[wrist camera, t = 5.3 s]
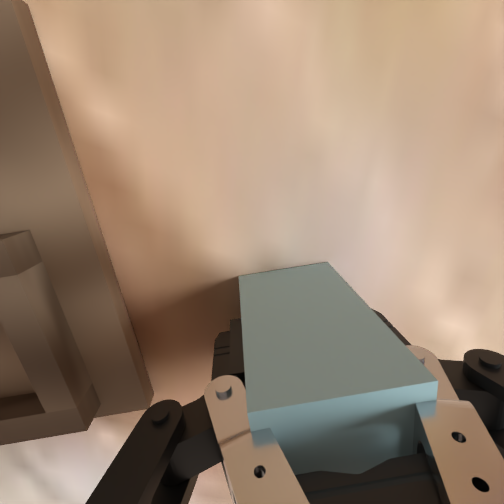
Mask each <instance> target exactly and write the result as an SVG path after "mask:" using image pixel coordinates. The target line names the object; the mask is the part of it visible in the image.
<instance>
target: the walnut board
mask: <svg viewBox="0 0 504 504" xmlns="http://www.w3.org/2000/svg"><path fill="white" fill-rule="evenodd" d="M153 395H154V392H153V389H152V386H151V383H150V380H149V377H148V374H147V371H146V368H145V365H144V361H143V358H142V355H141V352H140V349H139V346H138V343H137V340H136V337H135V334H134V331H133V328H132V324H131V321H130V318H129V315H128V312H127V309H126V306H125V303H124V300H123V297H122V294H121V291H120V287H119V284H118V281H117V278H116V275H115V272H114V269H113V266H112V263H111V260H110V257H109V254H108V250H107V247H106V244H105V241H104V238H103V235H102V232H101V229H100V226H99V223H98V220H97V217H96V213H95V210H94V207H93V204H92V201H91V198H90V195H89V192H88V189H87V186H86V183H85V180H84V176H83V173H82V170H81V167H80V164H79V161H78V158H77V155H76V152H75V149H74V146H73V143H72V139H71V136H70V133H69V130H68V127H67V124H66V121H65V118H64V115H63V112H62V109H61V106H60V102H59V99H58V96H57V93H56V90H55V87H54V84H53V81H52V78H51V75H50V72H49V69H48V65H47V62H46V59H45V56H44V53H43V50H42V47H41V44H40V41H39V38H38V35H37V32H36V28H35V25H34V22H33V19H32V16H31V13H30V10H29V7H28V4H26V3H25V2H24V1H22V0H0V445H5V444H11V443H17V442H23V441H28V440H34V439H40V438H46V437H52V436H58V435H64V434H70V433H76V432H82V431H87V430H88V428H89V426H90V424H91V422H92V420H93V418H96V417H102V416H108V415H114V414H120V413H126V412H132V411H138V410H143V409H149V407H150V404H151V401H152V398H153Z"/></svg>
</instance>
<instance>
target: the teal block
mask: <svg viewBox="0 0 504 504" xmlns="http://www.w3.org/2000/svg"><path fill="white" fill-rule="evenodd" d="M239 291H240V307H241V323H242V339H243V355H244V370H245V386H246V402H247V415H248V420H249V425H250V430H251V432H252V431H256V430H261V429H266V428H270V429H271V431H272V433H273V435H274V436H275V438H276V440H277V442H278V444H279V446H280V448H281V450H282V452H283V454H284V456H285V458H286V459H287V461H288V463H289V465H290V467H291V469H292V471H293V473H294V475H298V474H304V473H309V472H315V471H330V472H340V473H349V474H361V473H363V472H365V471H367V470H369V469H371V468H373V467H375V466H377V465H379V464H380V463H382V462H384V461H386V460H388V459H390V458H396V457H401V456H407V455H412V452H413V435H414V417H415V403H418V402H425V401H435V400H437V389H438V380H437V379H436V378H435V377H434V376H433V375H432V374H431V372H430V371H429V370H428V369H427V368H426V367H425V366H424V365H423V364H422V363H421V362H420V361H419V360H418V359H417V357H416V356H415V355H414V354H413V353H412V352H411V351H410V350H409V349H408V348H407V347H406V346H405V345H404V343H403V342H402V341H401V340H400V339H399V338H398V337H397V336H396V335H395V334H394V333H393V332H392V331H391V330H390V328H389V327H388V326H387V325H386V324H385V323H384V322H383V321H382V320H381V319H380V318H379V317H378V316H377V315H376V313H375V312H374V311H373V310H372V309H371V308H370V307H369V306H368V305H367V304H366V303H365V302H364V301H363V300H362V298H361V297H360V296H359V295H358V294H357V293H356V292H355V291H354V290H353V289H352V288H351V287H350V286H349V284H348V283H347V282H346V281H345V280H344V279H343V278H342V277H341V276H340V275H339V274H338V273H337V272H336V271H335V269H334V268H333V267H332V266H331V265H330V264H329V263H328V262H324V263H318V264H312V265H305V266H299V267H293V268H286V269H280V270H274V271H267V272H261V273H255V274H248V275H242V276H239Z"/></svg>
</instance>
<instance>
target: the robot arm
mask: <svg viewBox="0 0 504 504" xmlns="http://www.w3.org/2000/svg"><path fill="white" fill-rule="evenodd" d="M372 310H373V309H372ZM373 311H374V312H375V313H376V315H377V316H378V317H379V318H380V319H381V320H382V321H383V322H384V323H385V324H386V325H387V326H388V327H389V328H390V330H391V331H392V332H393V333H394V334H395V335H396V336H397V337H398V338H399V339H400V340H401V341H402V342H403V343H404V345H405V346H406V347H407V348H408V349H409V350H410V351H411V352H412V353H413V354H414V355H415V356H416V357H417V359H418V360H419V361H420V362H421V363H422V364H423V365H424V366H425V367H426V368H427V369H428V370H429V371H430V372H431V374H432V375H433V376H434V377H435V378H436V379H437V380H438V389H437V400H435V401H425V402H418V403H415V417H414V435H413V452H412V455H407V456H401V457H396V458H390V459H388V460H386V461H384V462H382V463H380V464H379V465H377V466H375V467H373V468H371V469H369V470H367V471H365V472H363V473H361V474H349V473H340V472H330V471H315V472H309V473H304V474H298V475H294V473H293V471H292V469H291V467H290V465H289V463H288V461H287V459H286V458H285V456H284V454H283V452H282V450H281V448H280V446H279V444H278V442H277V440H276V438H275V436H274V435H273V433H272V431H271V429H270V428H266V429H261V430H256V431H252V432H251V430H250V425H249V420H248V415H247V402H246V386H245V370H244V355H243V339H242V323H241V318H239V319H233V320H230V331H227V332H221V333H219V335H218V336H217V338H216V339H215V345H214V357H213V368H212V379H211V382H210V383H209V384H208V385H207V387H206V389H205V392H204V395H203V396H202V397H200V398H199V399H197V400H196V401H194V402H191V403H189V404H187V405H185V406H181V405H180V403H179V402H177V401H175V400H163V401H160V402H158V403H156V404H154V405H152V406H151V407H150V408H149V409H147V410H146V411H145V413H144V414H143V415H142V417H141V418H140V420H139V421H138V423H137V425H136V426H135V428H134V429H133V431H132V432H131V434H130V435H129V437H128V439H127V440H126V442H125V443H124V445H123V446H122V448H121V449H120V451H119V452H118V454H117V456H116V457H115V459H114V460H113V462H112V463H111V465H110V466H109V468H108V469H107V471H106V473H105V474H104V476H103V477H102V479H101V480H100V482H99V483H98V485H97V487H96V488H95V490H94V491H93V493H92V494H91V496H90V497H89V499H88V500H87V502H86V504H188V503H189V500H190V498H191V495H192V492H193V489H194V486H195V484H196V481H197V478H198V475H199V473H201V472H203V471H205V470H207V469H208V468H210V467H212V466H214V465H216V464H218V463H219V462H221V464H222V467H223V471H224V474H225V477H226V481H227V484H228V488H229V491H230V495H231V498H232V502H233V504H504V356H503V355H501V354H499V353H496V352H493V351H490V350H484V349H473V350H469V351H467V352H466V353H465V354H464V360H463V361H451V360H440V359H437V357H436V356H435V355H434V354H433V353H432V352H430V351H429V350H427V349H425V348H422V347H419V346H413V345H411V344H410V343H409V342H408V341H407V340H406V339H405V338H404V337H403V336H402V335H401V334H400V333H399V332H398V330H397V329H396V328H395V327H393V325H392V324H391V323H390V322H388V320H387V319H386V318H385V317H384V316H383V315H382V314H381V313H379V312H377V311H375V310H373Z"/></svg>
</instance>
